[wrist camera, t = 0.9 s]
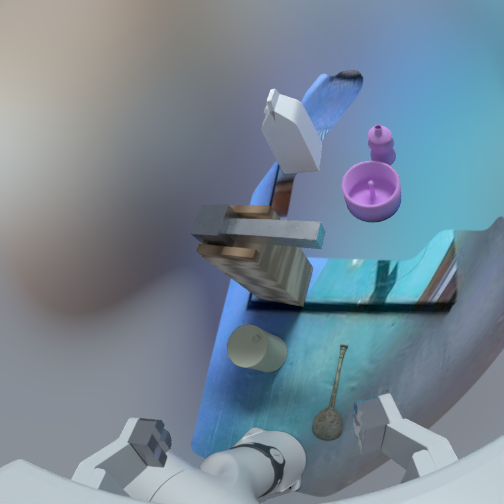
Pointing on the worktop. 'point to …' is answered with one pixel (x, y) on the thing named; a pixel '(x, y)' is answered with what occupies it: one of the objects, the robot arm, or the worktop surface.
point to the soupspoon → (330, 412)
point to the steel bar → (253, 229)
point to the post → (263, 263)
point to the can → (256, 349)
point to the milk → (291, 134)
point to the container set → (374, 180)
